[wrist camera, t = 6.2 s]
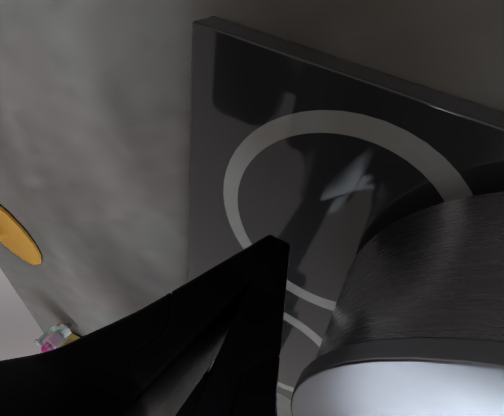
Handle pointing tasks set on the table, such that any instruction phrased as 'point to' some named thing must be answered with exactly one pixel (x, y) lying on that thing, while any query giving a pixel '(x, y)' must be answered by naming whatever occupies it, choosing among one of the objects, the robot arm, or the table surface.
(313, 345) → the hob
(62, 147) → the table surface
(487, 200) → the steel pot
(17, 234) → the cup
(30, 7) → the table surface
